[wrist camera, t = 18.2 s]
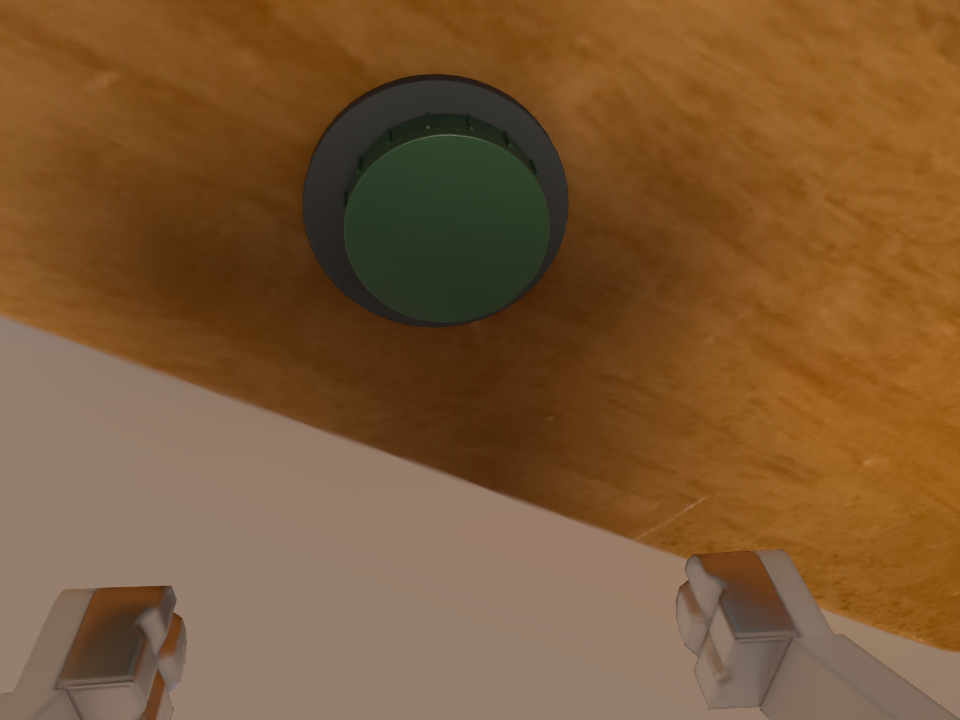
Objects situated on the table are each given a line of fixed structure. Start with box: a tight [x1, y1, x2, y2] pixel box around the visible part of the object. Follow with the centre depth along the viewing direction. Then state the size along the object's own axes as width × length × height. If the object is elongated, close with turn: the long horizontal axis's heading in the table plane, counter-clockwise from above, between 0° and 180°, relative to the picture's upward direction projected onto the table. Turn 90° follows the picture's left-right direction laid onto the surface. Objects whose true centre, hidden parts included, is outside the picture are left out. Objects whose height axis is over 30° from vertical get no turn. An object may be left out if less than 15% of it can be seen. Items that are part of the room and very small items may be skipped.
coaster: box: [303, 75, 568, 327], centre depth 22 cm, size 8×8×1 cm
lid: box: [342, 113, 550, 322], centre depth 21 cm, size 6×6×2 cm
